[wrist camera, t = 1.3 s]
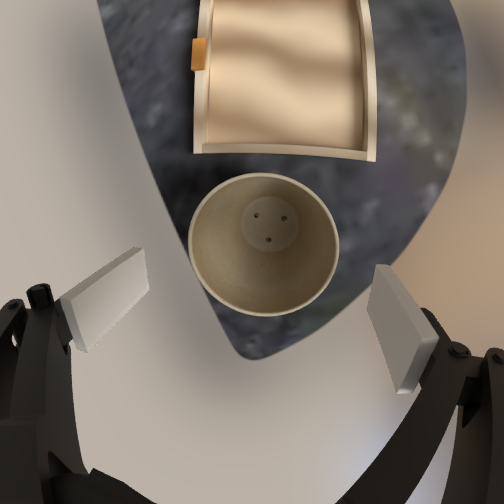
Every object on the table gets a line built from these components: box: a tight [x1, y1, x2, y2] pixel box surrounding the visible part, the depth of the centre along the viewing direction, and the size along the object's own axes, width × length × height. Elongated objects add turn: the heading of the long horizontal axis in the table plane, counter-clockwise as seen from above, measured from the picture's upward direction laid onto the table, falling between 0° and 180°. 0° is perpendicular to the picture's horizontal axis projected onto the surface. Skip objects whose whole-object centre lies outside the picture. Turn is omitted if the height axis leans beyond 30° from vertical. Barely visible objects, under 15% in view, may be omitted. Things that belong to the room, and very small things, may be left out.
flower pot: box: [188, 173, 339, 316], centre depth 21 cm, size 10×10×7 cm
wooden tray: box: [191, 0, 377, 162], centre depth 17 cm, size 22×14×3 cm
